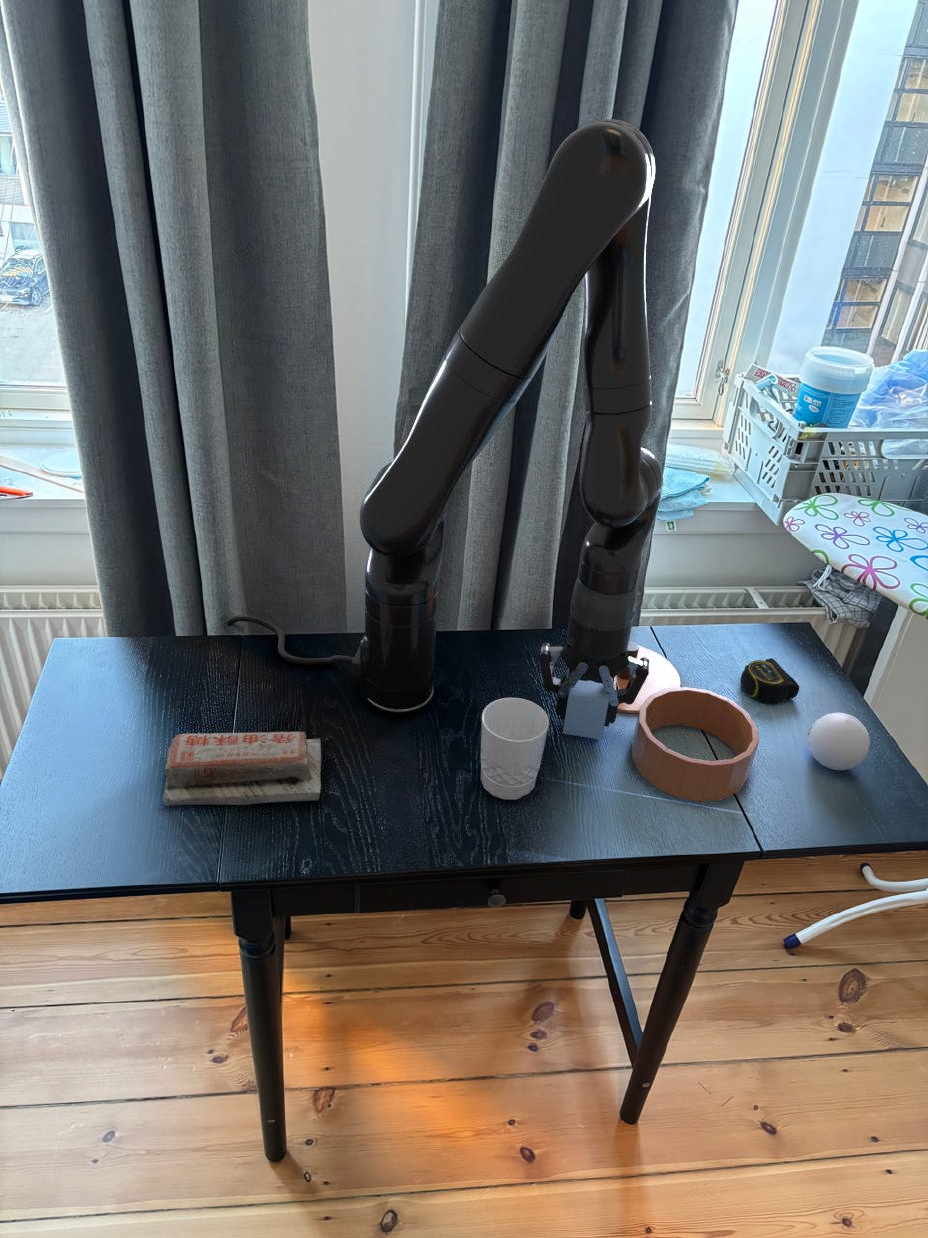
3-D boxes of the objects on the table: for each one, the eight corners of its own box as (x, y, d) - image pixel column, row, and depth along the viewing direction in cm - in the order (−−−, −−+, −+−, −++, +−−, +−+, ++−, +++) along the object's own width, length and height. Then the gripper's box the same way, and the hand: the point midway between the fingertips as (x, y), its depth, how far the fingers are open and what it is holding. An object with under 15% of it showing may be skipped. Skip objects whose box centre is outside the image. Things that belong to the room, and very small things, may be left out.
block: (562, 733, 123) (568, 694, 119) (566, 709, 127) (572, 670, 123) (601, 740, 122) (608, 700, 119) (604, 715, 126) (611, 676, 123)
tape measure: (797, 704, 133) (804, 683, 131) (754, 711, 132) (761, 690, 129) (770, 675, 139) (776, 654, 137) (729, 681, 137) (734, 660, 135)
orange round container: (628, 792, 117) (637, 753, 113) (633, 717, 129) (641, 679, 125) (749, 813, 115) (762, 774, 112) (743, 735, 127) (754, 697, 124)
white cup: (495, 812, 113) (502, 748, 107) (464, 769, 119) (470, 707, 113) (552, 792, 116) (561, 730, 111) (519, 752, 122) (527, 690, 116)
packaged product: (157, 778, 107) (169, 720, 116) (162, 809, 110) (174, 750, 118) (320, 772, 110) (320, 716, 118) (321, 802, 112) (321, 745, 121)
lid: (562, 706, 130) (568, 670, 127) (573, 640, 143) (578, 606, 139) (679, 725, 128) (688, 689, 125) (679, 657, 141) (687, 623, 138)
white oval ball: (870, 782, 121) (888, 739, 117) (814, 783, 121) (830, 739, 116) (839, 730, 129) (855, 687, 125) (786, 730, 129) (800, 687, 125)
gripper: (663, 602, 117) (640, 709, 126) (546, 585, 118) (533, 692, 128) (662, 637, 111) (639, 747, 120) (539, 619, 112) (525, 728, 122)
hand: (584, 718), depth 124 cm, fingers closed on block, 5 cm apart
